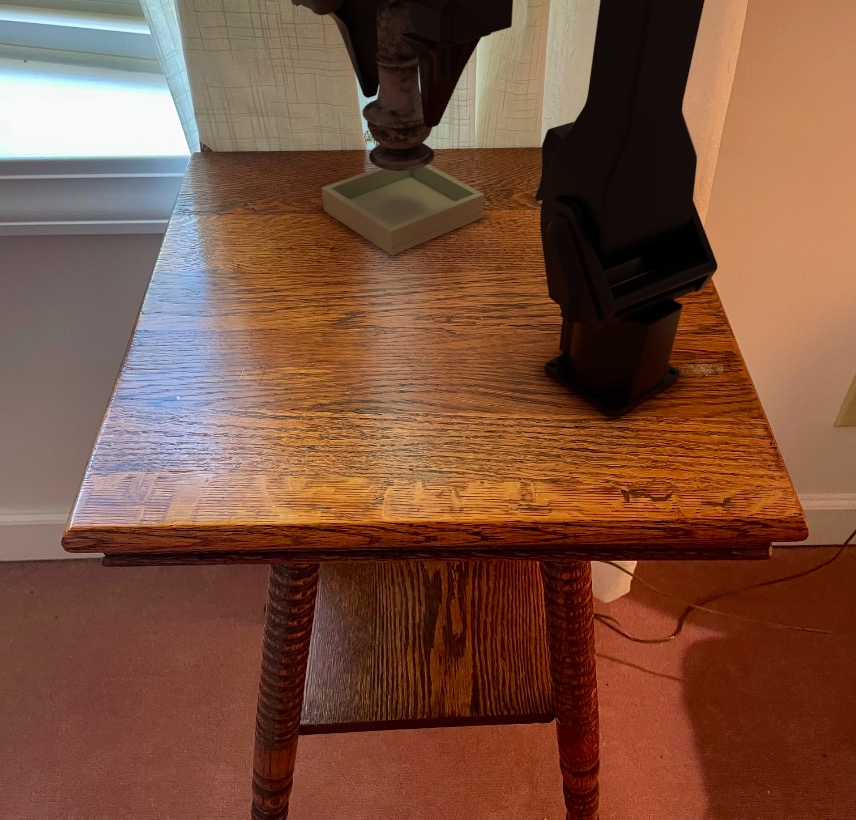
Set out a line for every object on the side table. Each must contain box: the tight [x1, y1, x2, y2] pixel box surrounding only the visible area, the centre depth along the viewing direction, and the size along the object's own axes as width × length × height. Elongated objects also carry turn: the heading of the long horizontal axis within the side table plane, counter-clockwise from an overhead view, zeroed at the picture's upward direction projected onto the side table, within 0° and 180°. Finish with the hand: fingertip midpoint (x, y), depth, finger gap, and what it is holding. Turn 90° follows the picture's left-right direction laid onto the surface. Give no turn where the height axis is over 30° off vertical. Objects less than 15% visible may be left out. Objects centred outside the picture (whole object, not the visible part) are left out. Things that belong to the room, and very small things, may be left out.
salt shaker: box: [361, 0, 435, 171], centre depth 62 cm, size 6×6×12 cm
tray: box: [321, 164, 485, 256], centre depth 69 cm, size 10×10×2 cm
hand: (400, 110), depth 64 cm, fingers closed on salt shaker, 7 cm apart
